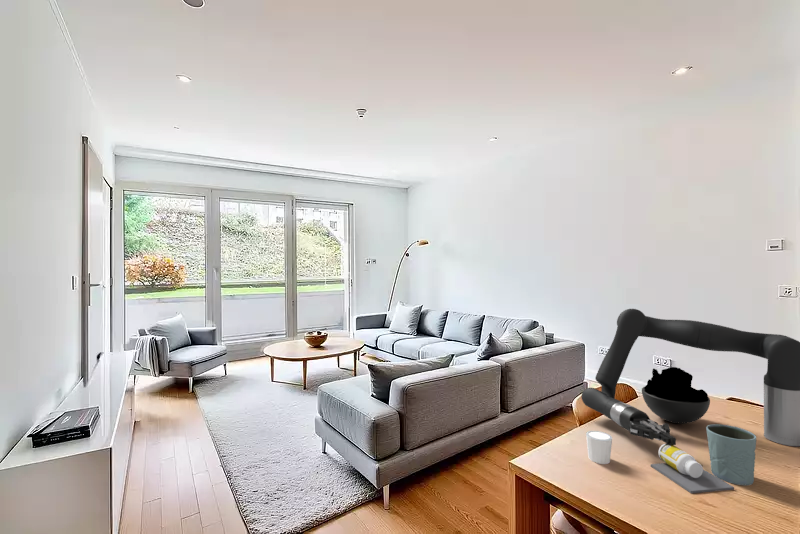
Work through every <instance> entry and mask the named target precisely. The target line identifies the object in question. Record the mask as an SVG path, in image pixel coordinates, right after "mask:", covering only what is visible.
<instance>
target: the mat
mask: <svg viewBox="0 0 800 534" xmlns="http://www.w3.org/2000/svg"><path fill="white" fill-rule="evenodd" d="M650 467H651V468H653V469H654V470H655V471H657V472H658V473H660V474H661V475H663V476H664V477H666V478H667V479H669V481H672V482H673V483H675V484H676V485H678V486H679V487H681V488H682V489H684V490H685V491H687V492H688V493H690V494H700V493H711V492H721V491H731V490H735V487H734V486H733V485H731V484H729V482H726V481H724V480H721V479H719V478H718V477H716V476H715V475H713V473H711V472H708V471H706V470H705V469H704V468H703V473H702V475H701V476H700V477H698V478H693V477H691V476H690V475H685V474H682V473H680V472H679V471H677V470H676V469H674V468H673V467H671V466H670V465H668V464H667V463H665V462H662V463H660V462H659V463H650Z"/></svg>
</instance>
